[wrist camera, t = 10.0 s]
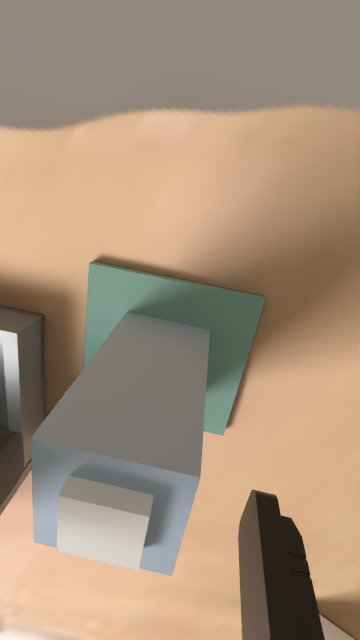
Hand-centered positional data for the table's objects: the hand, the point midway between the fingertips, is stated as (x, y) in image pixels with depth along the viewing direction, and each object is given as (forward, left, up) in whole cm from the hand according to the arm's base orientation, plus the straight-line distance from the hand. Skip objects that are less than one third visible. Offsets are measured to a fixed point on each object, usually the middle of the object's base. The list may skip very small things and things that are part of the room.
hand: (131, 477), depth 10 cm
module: (0, 0, -7) cm, 7 cm away
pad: (0, 0, -8) cm, 8 cm away
